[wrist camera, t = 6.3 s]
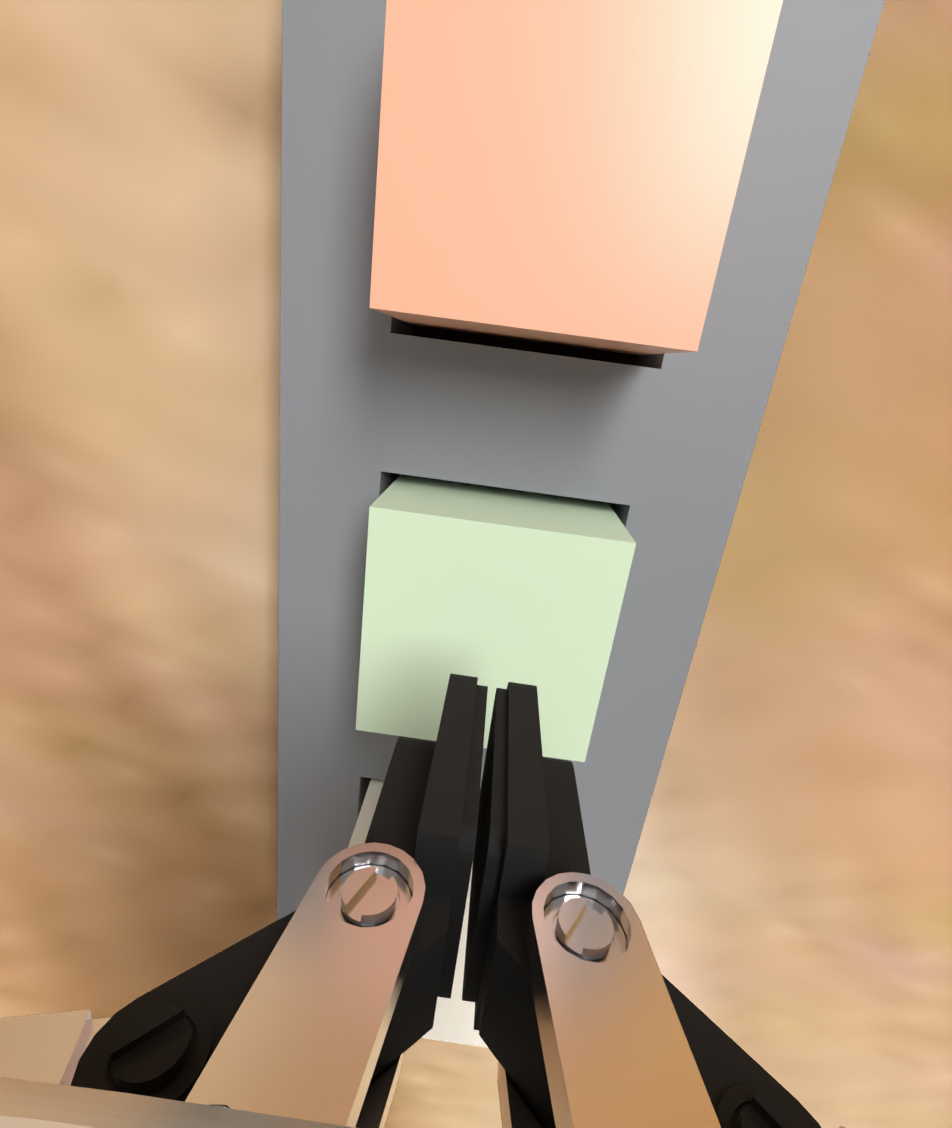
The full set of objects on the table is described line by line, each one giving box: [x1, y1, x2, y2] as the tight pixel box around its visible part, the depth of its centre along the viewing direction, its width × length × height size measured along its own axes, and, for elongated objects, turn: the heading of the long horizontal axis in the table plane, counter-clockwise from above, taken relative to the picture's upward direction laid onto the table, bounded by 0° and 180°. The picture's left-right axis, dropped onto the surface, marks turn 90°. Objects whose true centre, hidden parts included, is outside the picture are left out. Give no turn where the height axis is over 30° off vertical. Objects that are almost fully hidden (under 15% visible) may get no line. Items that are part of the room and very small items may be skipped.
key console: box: [277, 0, 885, 920], centre depth 17 cm, size 12×31×3 cm, turn 173°
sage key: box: [356, 474, 636, 762], centre depth 16 cm, size 6×6×5 cm
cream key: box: [348, 778, 488, 1048], centre depth 18 cm, size 6×6×5 cm
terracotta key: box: [370, 0, 783, 355], centre depth 12 cm, size 6×6×5 cm
